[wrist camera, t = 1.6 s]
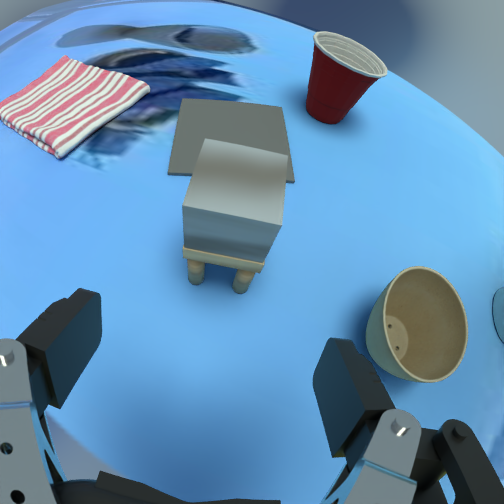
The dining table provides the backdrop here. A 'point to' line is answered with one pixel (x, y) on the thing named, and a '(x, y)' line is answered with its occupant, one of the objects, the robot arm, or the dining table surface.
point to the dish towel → (69, 104)
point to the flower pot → (418, 327)
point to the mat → (226, 131)
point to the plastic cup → (339, 76)
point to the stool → (233, 210)
